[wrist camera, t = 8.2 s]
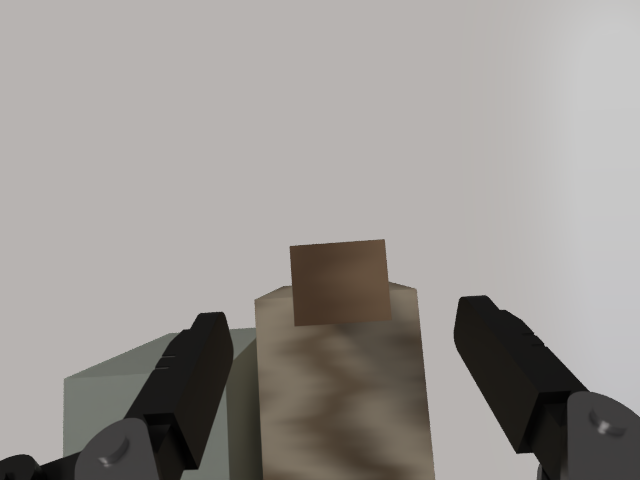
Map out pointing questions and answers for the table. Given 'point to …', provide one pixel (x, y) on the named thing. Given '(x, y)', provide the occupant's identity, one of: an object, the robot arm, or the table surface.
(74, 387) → the low stand
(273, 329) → the tall stand
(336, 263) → the bar
